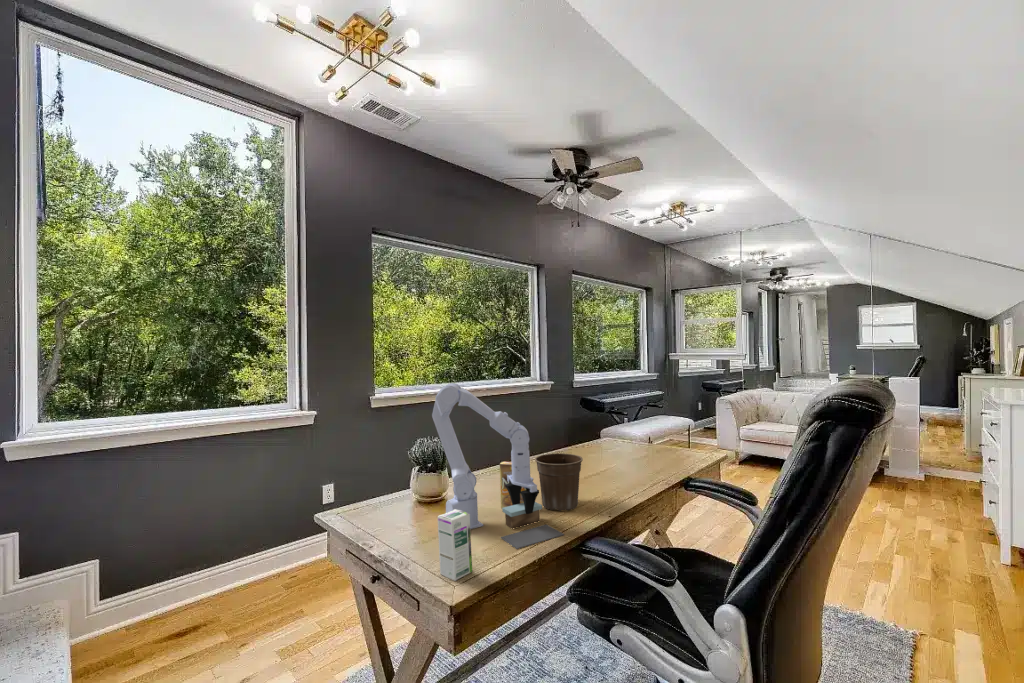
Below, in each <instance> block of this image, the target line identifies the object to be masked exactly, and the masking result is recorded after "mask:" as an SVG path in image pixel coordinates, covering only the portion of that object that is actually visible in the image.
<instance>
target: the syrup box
mask: <svg viewBox="0 0 1024 683" xmlns="http://www.w3.org/2000/svg"><path fill="white" fill-rule="evenodd" d="M437 532H438V534H437V535H438V553H439V554H438V555H439V572H440V575H441V576H443V577H445V578H447V579H450V580H452V581H454V582H457V581H458V580H460V579H461V578H463V577H465V576H467V575H469V574H471V573H472V572H473V560H472V559H473V558H472V557H473V555H472V541H471V540H472V535H471V534H472V532H471V529H470V514H469V513H467V512H464V511H461V510H456V509H454V510H453V511H450V512H448V513H446V512H445V513H443V514H439V515H438V516H437Z"/></svg>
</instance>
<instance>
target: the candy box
mask: <svg viewBox="0 0 1024 683" xmlns="http://www.w3.org/2000/svg"><path fill="white" fill-rule="evenodd" d="M511 474H512V462H511V461H505V460H504V461H501V462H500V463H499V479H500V481H499V483H500V484H499V485H500V486H499V487H500V489H499V490H500V508H501V509H502V508H504V507H508V506H512V501H511V498H510V495H509V492H508V490H507V488H506V487H505V484H509V482H508V481H507V475H511ZM524 490H526V488H524V487H522V488H521V491H524ZM520 503H524V500H523V497H522V495H521V494H520Z"/></svg>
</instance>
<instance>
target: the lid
mask: <svg viewBox="0 0 1024 683" xmlns="http://www.w3.org/2000/svg"><path fill="white" fill-rule="evenodd" d="M501 509H502V512H501V513H504V515H505V514H507V515H509V516H510V517H513V516H517V515H521V514H525V513H526V512H525V506H524V503H520V504H516V505H512V506H508V507H504V508H501ZM542 509H543V505H542V503H538V502H536V501H535V504H534V508H533V511H537V510H539V511H541V510H542Z"/></svg>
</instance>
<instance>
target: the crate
mask: <svg viewBox="0 0 1024 683" xmlns="http://www.w3.org/2000/svg"><path fill="white" fill-rule="evenodd" d="M540 514H541V513H540V510H537V511H533V513H530V514H526V513H525V514H521V515H517V516H513V517H510V516H509V515H507V514H505V513H504V515H505V526H507V527H508V528H510V529H511V528H512V529H511V530H514V529H513V528H515V529H517V528H516V527H519V528H521V527H520V526H522V527H525V526H524V525H526V526H528V525H527V524H529V525H532V524H531V523H533V524H535V523H534V522H537V523H539V522H538V521H540V522H541V519H540V518H541V517H540Z"/></svg>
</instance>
